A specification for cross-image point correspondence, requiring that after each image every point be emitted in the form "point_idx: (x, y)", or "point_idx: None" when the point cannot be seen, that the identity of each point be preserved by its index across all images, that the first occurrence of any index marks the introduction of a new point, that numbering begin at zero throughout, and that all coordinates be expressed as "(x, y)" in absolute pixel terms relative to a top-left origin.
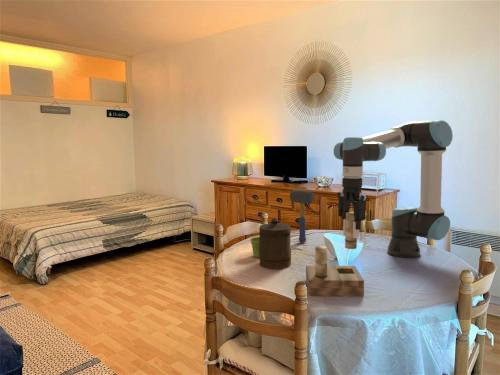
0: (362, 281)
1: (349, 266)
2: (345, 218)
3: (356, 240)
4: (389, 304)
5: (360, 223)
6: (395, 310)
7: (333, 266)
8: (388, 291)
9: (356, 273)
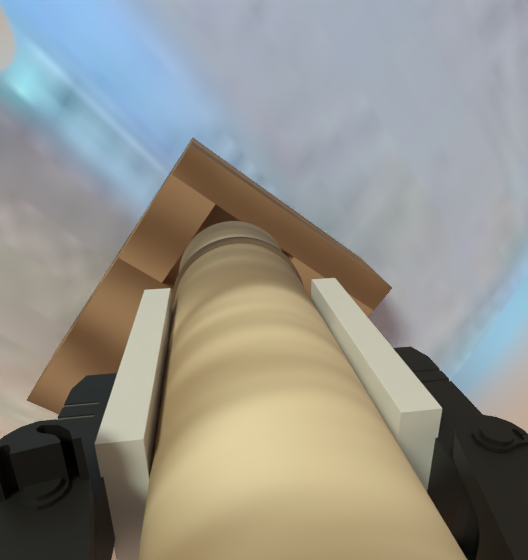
0: (384, 292)
1: (178, 188)
2: (110, 526)
3: (301, 281)
4: (478, 232)
5: (471, 408)
6: (518, 255)
7: (121, 275)
8: (406, 115)
9: (298, 245)
